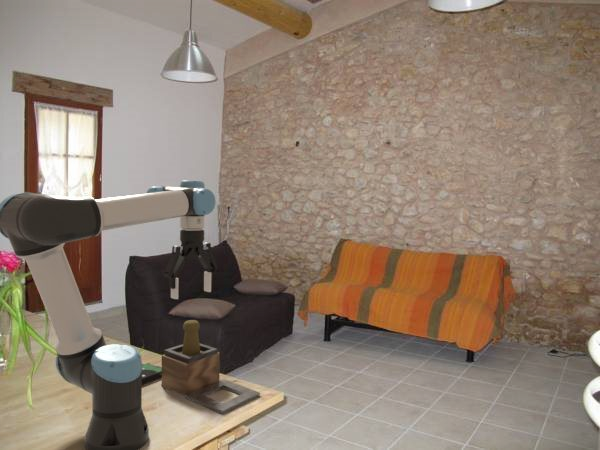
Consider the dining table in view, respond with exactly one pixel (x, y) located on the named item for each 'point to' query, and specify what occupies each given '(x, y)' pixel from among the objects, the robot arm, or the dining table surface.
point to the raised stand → (190, 369)
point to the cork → (191, 338)
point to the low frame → (222, 408)
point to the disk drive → (150, 373)
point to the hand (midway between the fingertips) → (191, 294)
